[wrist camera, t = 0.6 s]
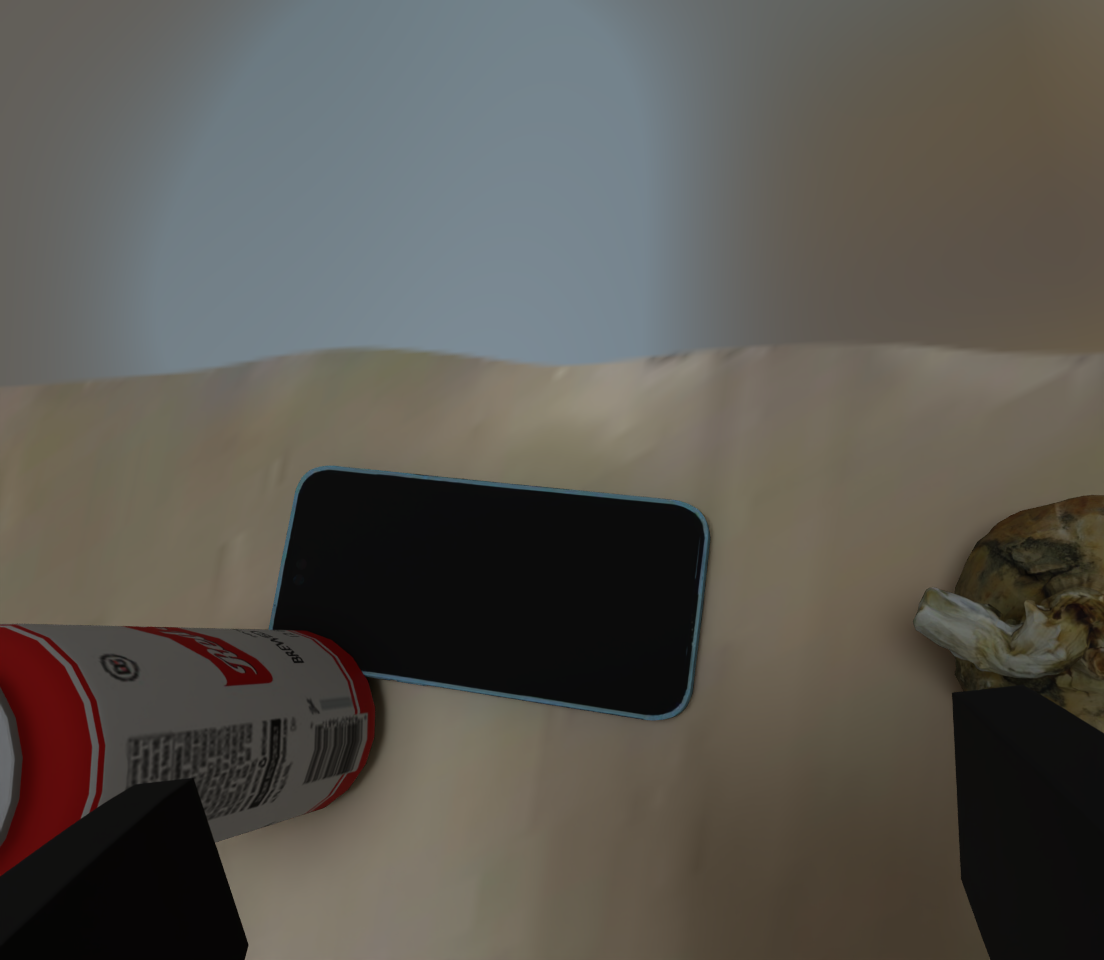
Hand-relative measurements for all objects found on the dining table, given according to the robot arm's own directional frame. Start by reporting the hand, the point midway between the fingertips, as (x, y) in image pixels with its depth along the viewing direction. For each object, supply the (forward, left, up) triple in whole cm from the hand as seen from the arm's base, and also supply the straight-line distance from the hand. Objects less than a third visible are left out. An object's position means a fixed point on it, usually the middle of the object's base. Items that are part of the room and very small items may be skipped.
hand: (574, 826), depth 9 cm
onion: (-3, -10, -24) cm, 26 cm away
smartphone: (+9, +4, -24) cm, 26 cm away
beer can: (+9, +12, -23) cm, 28 cm away
